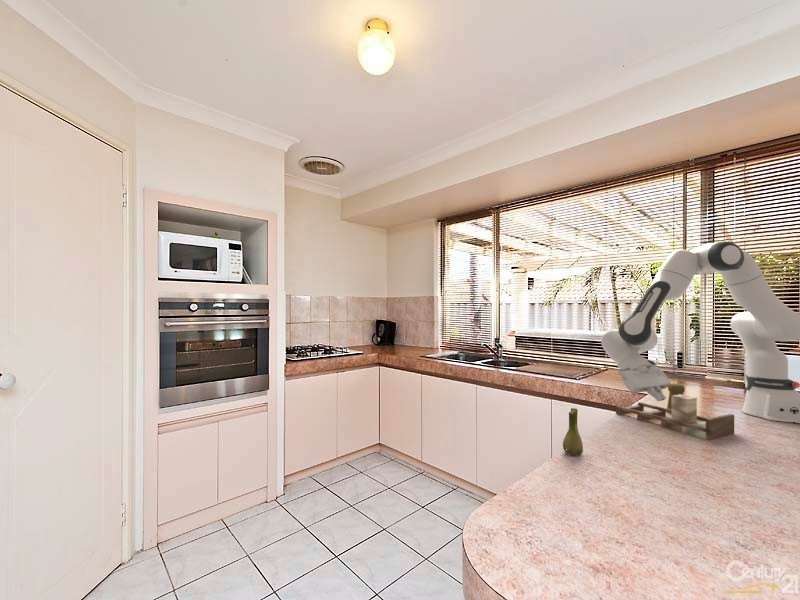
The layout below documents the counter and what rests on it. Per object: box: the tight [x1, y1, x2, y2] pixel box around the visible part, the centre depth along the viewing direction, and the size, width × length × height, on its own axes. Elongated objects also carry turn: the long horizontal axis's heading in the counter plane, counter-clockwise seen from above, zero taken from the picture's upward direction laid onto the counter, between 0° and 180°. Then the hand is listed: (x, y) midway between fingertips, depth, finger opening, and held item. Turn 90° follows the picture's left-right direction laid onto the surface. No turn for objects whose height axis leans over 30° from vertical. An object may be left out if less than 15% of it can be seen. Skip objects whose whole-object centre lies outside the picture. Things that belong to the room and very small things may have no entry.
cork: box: [666, 383, 686, 415], centre depth 144 cm, size 6×6×11 cm
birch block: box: [670, 394, 698, 424], centre depth 127 cm, size 5×5×8 cm
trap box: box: [615, 402, 735, 441], centre depth 131 cm, size 30×14×6 cm, turn 25°
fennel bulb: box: [562, 407, 584, 456], centre depth 102 cm, size 6×5×12 cm
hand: (662, 399), depth 133 cm, fingers closed
